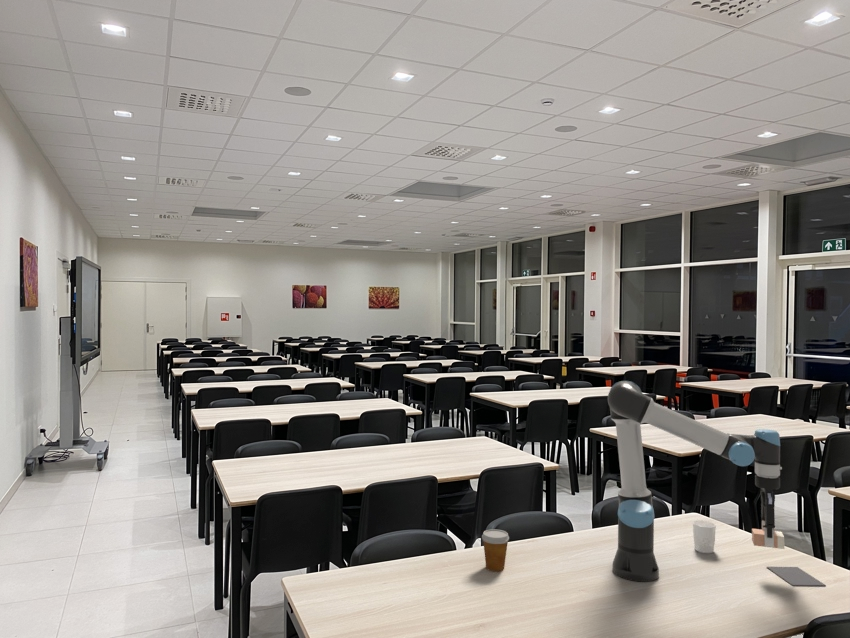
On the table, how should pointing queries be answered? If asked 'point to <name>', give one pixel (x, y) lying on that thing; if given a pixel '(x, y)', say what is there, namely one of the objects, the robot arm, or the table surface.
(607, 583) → the table surface
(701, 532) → the white cup
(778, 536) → the flat block
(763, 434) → the robot arm
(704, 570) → the table surface
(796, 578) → the mat
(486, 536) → the disposable coffee cup
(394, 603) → the table surface
